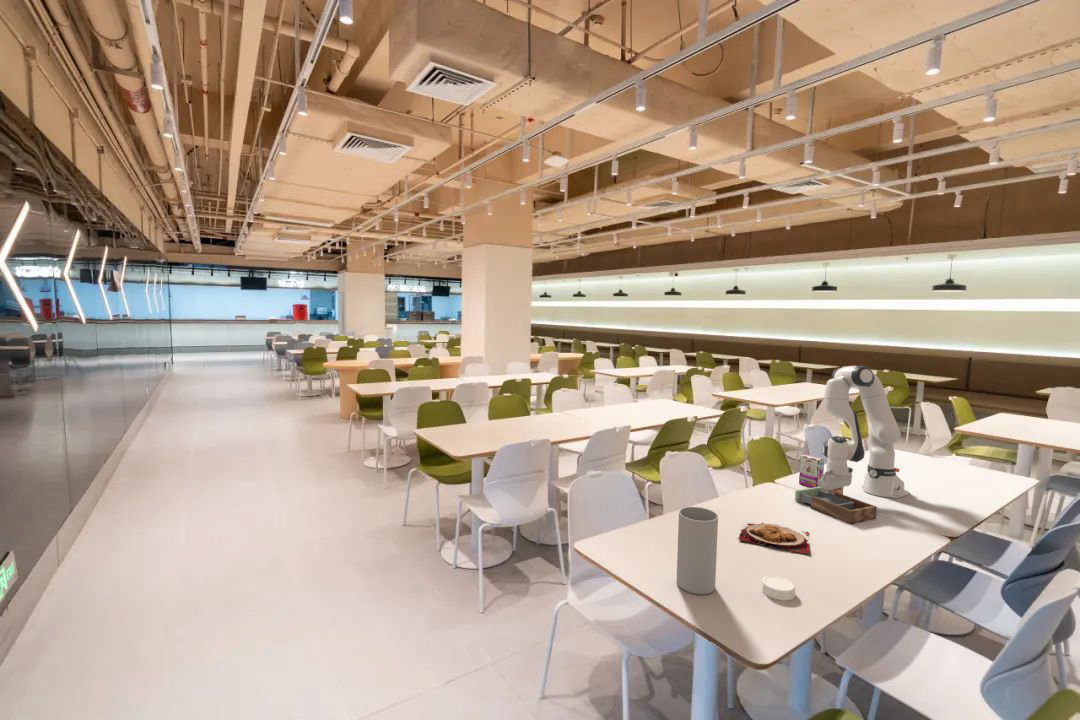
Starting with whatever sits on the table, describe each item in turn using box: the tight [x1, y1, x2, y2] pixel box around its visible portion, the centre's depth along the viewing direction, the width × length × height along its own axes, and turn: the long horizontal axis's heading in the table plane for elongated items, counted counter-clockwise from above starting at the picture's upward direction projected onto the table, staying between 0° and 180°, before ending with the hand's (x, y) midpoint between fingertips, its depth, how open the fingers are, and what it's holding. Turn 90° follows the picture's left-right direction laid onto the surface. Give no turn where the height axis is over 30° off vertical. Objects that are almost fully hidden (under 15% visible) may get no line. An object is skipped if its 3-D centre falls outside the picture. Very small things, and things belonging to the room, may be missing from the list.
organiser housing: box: [810, 492, 878, 525], centre depth 232 cm, size 17×20×6 cm
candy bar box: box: [798, 454, 825, 488], centre depth 271 cm, size 11×5×16 cm, turn 25°
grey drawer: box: [794, 487, 854, 510], centre depth 241 cm, size 17×20×6 cm
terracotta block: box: [833, 488, 844, 495], centre depth 250 cm, size 5×5×6 cm
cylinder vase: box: [676, 506, 719, 596], centre depth 167 cm, size 12×12×25 cm
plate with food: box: [737, 522, 811, 554], centre depth 206 cm, size 24×26×4 cm
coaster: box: [761, 575, 796, 601], centre depth 164 cm, size 10×10×4 cm
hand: (835, 496), depth 250 cm, fingers closed on terracotta block, 5 cm apart
